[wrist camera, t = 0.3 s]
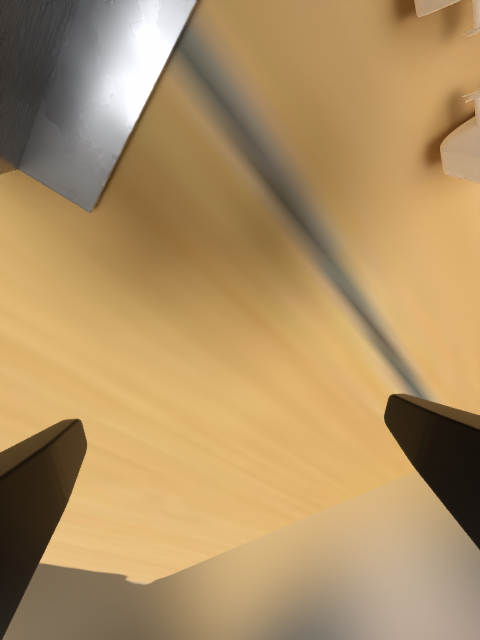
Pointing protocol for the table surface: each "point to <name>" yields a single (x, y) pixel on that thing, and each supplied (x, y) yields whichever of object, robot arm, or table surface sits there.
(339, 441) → the table surface
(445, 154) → the cable organizer
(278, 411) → the table surface
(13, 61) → the dark grey case
